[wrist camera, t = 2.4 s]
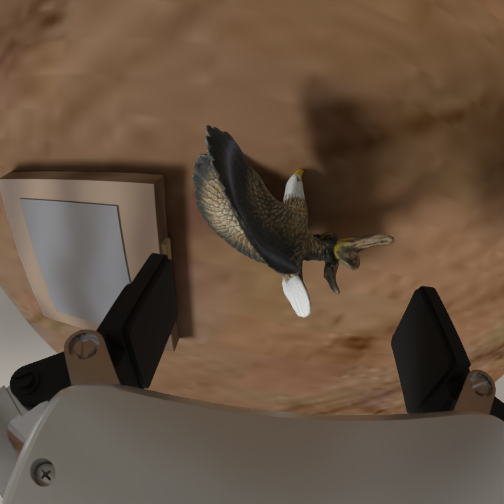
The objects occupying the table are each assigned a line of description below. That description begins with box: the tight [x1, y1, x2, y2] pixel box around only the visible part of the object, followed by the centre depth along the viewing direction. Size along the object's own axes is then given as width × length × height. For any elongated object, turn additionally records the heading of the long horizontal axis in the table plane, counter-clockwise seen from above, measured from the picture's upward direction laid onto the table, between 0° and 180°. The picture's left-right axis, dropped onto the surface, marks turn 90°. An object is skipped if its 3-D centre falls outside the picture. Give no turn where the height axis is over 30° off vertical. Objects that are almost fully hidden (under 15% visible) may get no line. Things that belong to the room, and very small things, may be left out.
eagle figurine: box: [192, 125, 394, 318], centre depth 15 cm, size 8×7×9 cm
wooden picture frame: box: [0, 171, 179, 352], centre depth 20 cm, size 14×14×2 cm
